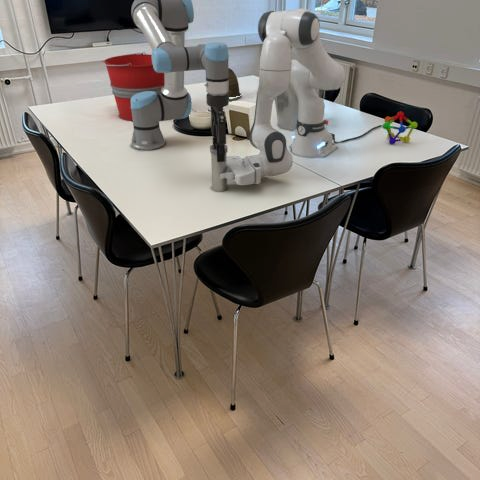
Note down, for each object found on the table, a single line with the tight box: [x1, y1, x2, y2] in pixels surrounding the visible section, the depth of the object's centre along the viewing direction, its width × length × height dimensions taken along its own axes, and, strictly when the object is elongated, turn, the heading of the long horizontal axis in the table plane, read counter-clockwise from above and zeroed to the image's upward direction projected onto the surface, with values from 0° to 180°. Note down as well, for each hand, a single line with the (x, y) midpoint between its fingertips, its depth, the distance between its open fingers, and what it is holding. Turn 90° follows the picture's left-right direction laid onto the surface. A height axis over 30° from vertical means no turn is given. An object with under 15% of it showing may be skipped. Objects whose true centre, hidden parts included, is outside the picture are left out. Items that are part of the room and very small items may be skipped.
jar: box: [210, 153, 228, 192], centre depth 163 cm, size 6×6×16 cm
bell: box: [228, 67, 242, 97], centre depth 278 cm, size 19×26×20 cm
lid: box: [209, 143, 229, 155], centre depth 159 cm, size 6×6×2 cm
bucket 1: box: [100, 51, 165, 122], centre depth 241 cm, size 35×35×30 cm
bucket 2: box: [274, 83, 326, 131], centre depth 226 cm, size 30×30×28 cm
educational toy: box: [382, 110, 418, 145], centre depth 207 cm, size 16×13×15 cm
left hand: (218, 157), depth 161 cm, fingers closed on lid, 6 cm apart
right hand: (216, 172), depth 164 cm, fingers closed on jar, 5 cm apart
